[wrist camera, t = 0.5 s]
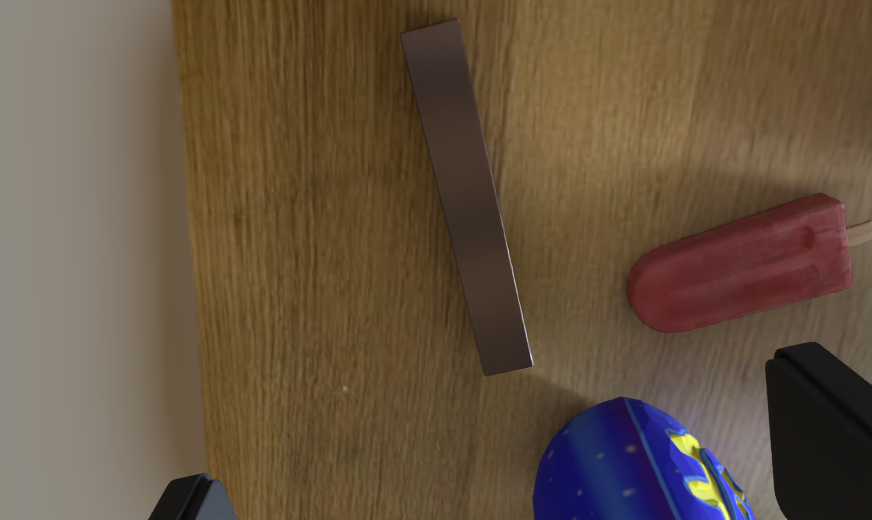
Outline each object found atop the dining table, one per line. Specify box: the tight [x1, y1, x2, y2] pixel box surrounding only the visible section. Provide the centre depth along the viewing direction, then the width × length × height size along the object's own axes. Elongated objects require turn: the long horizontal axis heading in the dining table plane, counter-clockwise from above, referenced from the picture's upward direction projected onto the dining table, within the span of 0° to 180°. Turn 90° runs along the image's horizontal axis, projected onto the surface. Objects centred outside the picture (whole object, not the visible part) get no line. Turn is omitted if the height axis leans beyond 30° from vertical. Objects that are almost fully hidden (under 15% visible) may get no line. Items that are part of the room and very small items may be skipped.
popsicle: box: [626, 193, 872, 333], centre depth 30 cm, size 4×2×15 cm
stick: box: [400, 18, 533, 376], centre depth 29 cm, size 16×2×2 cm, turn 14°
